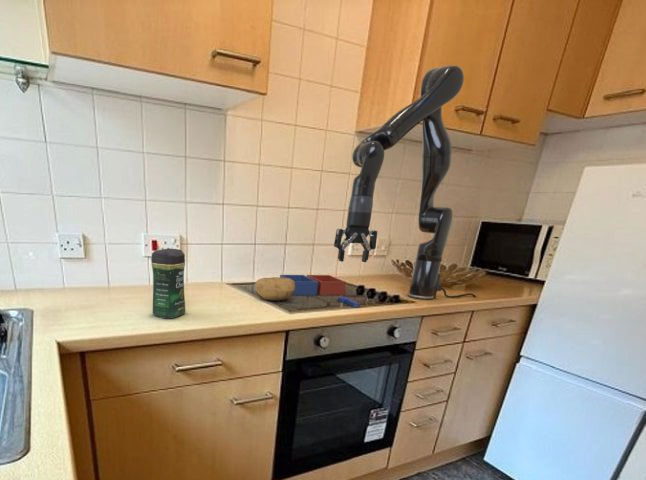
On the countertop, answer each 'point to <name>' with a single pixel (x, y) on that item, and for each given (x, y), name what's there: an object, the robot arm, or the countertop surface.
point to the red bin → (329, 285)
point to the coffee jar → (168, 283)
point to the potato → (275, 288)
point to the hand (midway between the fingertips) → (352, 261)
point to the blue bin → (303, 284)
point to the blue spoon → (348, 301)
